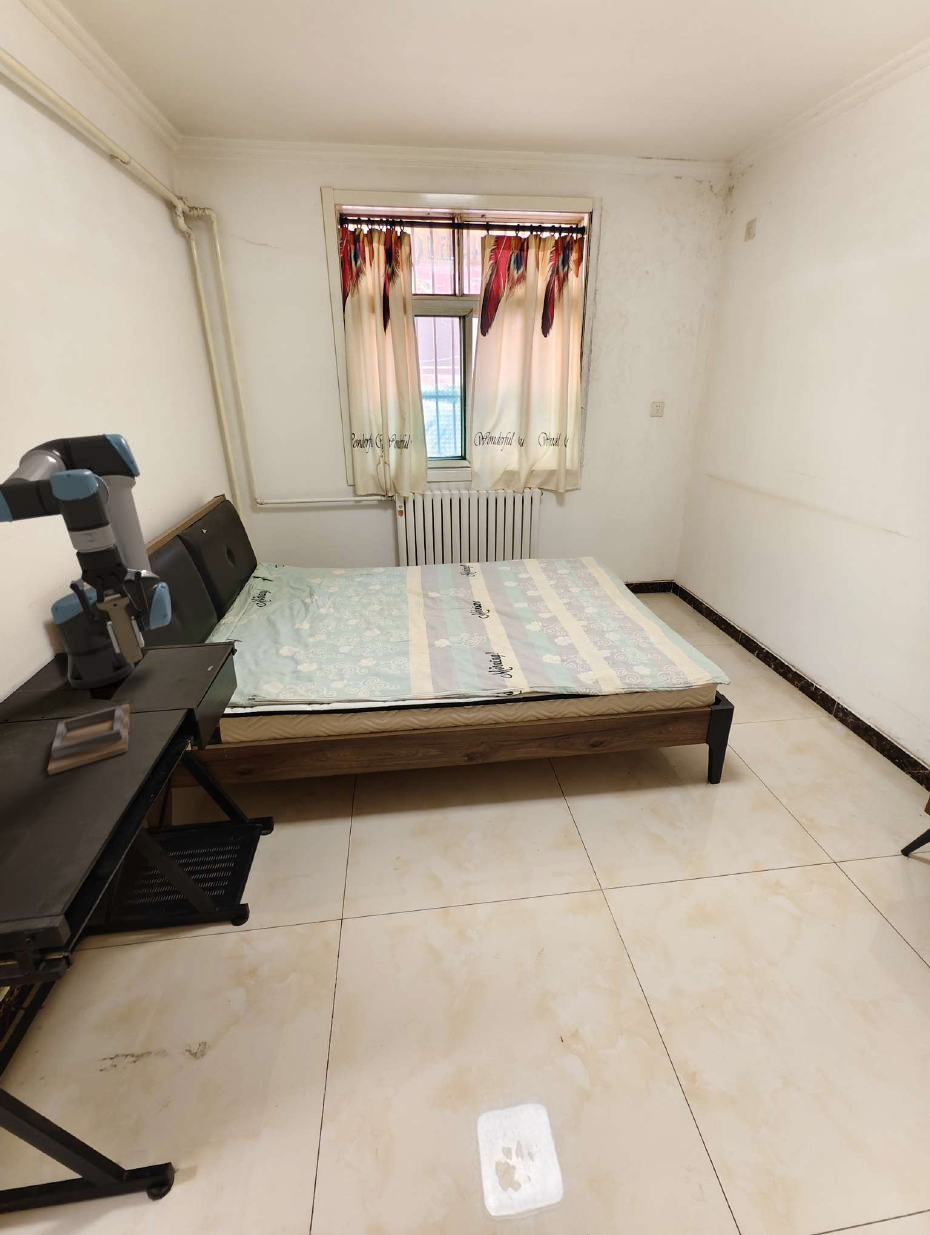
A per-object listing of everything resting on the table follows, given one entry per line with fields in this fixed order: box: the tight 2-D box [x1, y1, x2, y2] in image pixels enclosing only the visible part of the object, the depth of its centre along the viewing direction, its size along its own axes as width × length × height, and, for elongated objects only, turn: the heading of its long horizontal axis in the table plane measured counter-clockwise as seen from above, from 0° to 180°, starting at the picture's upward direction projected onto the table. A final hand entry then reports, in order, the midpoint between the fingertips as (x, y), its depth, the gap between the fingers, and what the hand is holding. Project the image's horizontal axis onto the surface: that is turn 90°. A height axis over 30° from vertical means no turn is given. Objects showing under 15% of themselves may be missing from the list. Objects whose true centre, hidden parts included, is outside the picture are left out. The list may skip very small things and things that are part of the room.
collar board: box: [47, 703, 131, 776], centre depth 123 cm, size 20×14×3 cm
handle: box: [96, 594, 143, 663], centre depth 123 cm, size 5×6×15 cm
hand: (130, 647), depth 125 cm, fingers closed on handle, 4 cm apart
